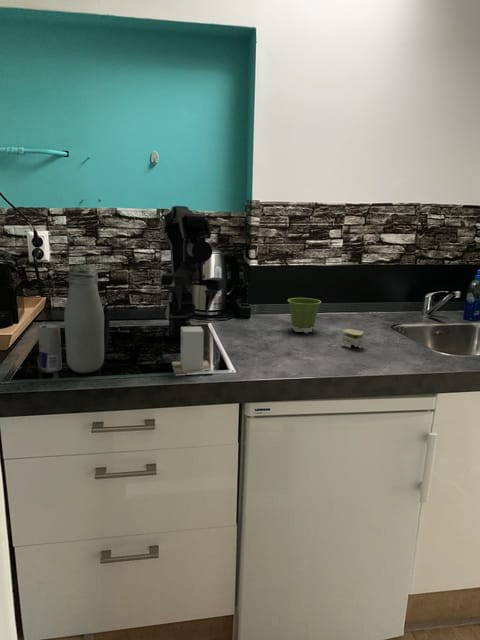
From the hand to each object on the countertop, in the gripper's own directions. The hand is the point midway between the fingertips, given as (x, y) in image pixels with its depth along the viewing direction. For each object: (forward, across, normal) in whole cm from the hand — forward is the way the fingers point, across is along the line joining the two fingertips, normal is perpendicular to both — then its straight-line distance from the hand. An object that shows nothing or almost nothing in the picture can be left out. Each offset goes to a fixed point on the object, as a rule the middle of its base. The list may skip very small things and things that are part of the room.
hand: (192, 310), depth 154 cm
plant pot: (+13, +23, +41) cm, 49 cm away
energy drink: (+13, -26, -31) cm, 43 cm away
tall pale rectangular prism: (+12, +7, -14) cm, 20 cm away
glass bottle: (+13, -17, -28) cm, 35 cm away
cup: (+13, -26, -11) cm, 31 cm away
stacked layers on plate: (+14, +43, +29) cm, 54 cm away
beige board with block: (+13, +7, -14) cm, 20 cm away
